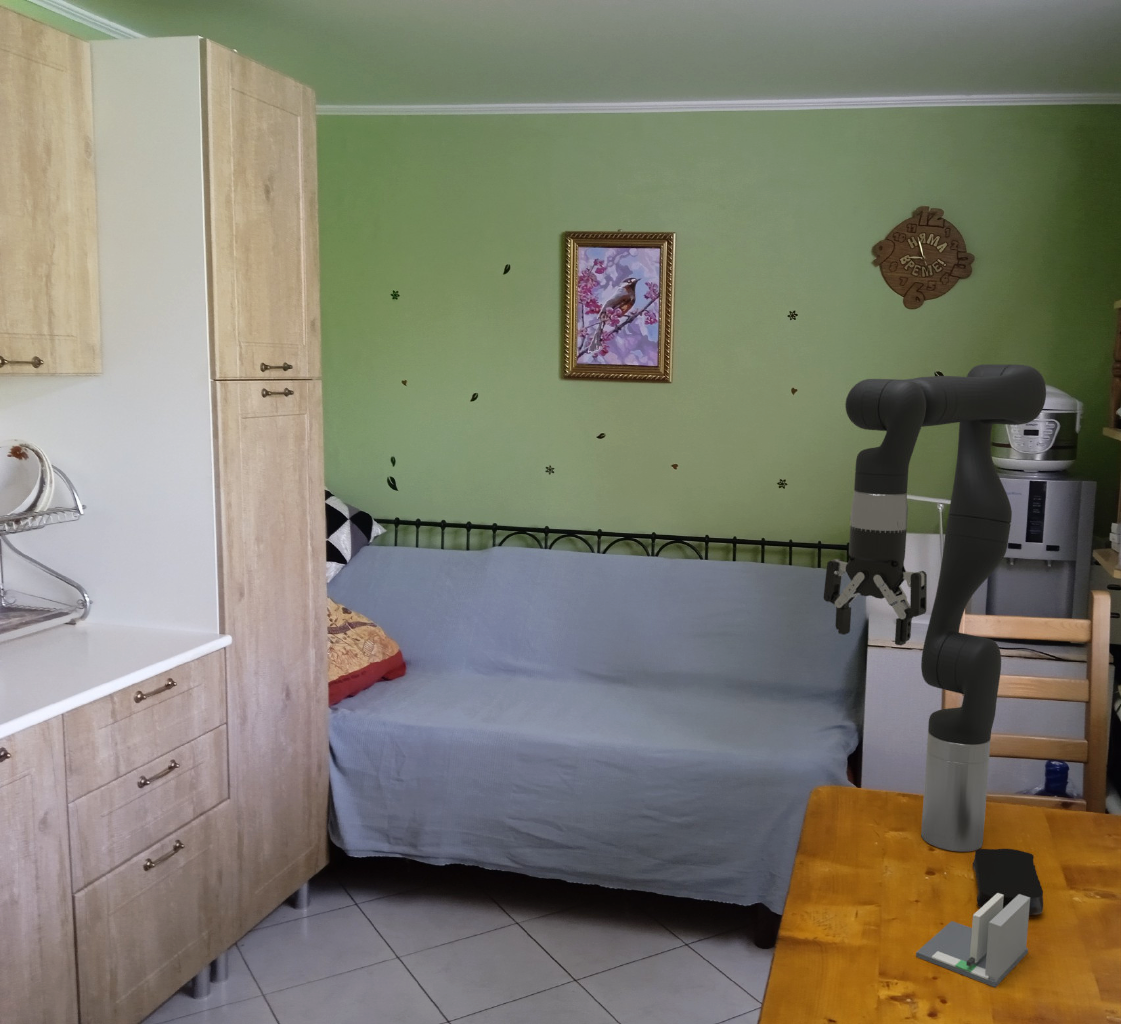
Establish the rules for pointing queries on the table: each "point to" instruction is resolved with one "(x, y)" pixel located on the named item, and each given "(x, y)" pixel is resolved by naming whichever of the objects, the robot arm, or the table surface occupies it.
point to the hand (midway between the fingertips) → (871, 638)
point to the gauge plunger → (983, 927)
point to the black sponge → (1007, 877)
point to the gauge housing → (1001, 948)
